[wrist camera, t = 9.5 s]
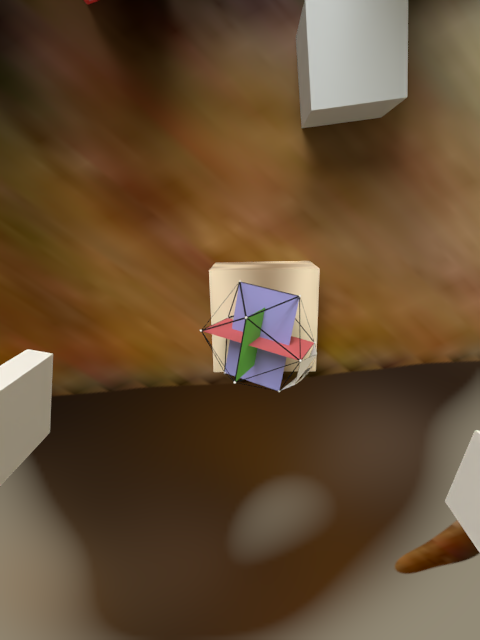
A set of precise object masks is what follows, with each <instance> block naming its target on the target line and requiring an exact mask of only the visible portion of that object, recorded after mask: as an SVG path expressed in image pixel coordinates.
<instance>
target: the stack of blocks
mask: <svg viewBox="0 0 480 640" xmlns="http://www.w3.org/2000/svg"><path fill="white" fill-rule="evenodd" d="M96 1H99V0H84V2H85V3H86V4H91V3H93V2H96Z"/></svg>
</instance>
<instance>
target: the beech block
mask: <svg viewBox="0 0 480 640" xmlns="http://www.w3.org/2000/svg"><path fill="white" fill-rule="evenodd" d="M319 272H320V269H319V268H318V267H317V266H316V265H314V264H313V263H312V262H310V261H280V262H228V263H215V264H214V265H213V266H212V268H211V269H210V270H209V282H210V303H211V317H212V316H213V317H212V318H211V325H213V324H215V323H218V322H220V321H222V320H224V319H226V318H227V317H228V315H229V312H230V309H231V306H232V302H233V299H234V296H235V293H236V290H237V287H238V285H237V284H239V280H241V282H245V283H249V284H253V285H257V286H261V287H265V288H269V289H274V290H278V291H282V292H286V293H290V294H294V295H298V296H299V295H301V297H300V298H301V299H300V325H301V326H302V327H303V328H304V329H305V331H306V332H307V333H308V334H309V336H310V337H311V338H312V339H314V340H313V341H315V342H316V343H315V346H316V350H317V326H318V299H319ZM236 285H237V286H236ZM234 288H235V289H234ZM233 289H234V290H233ZM232 290H233V291H232ZM230 293H231V294H230ZM229 294H230V295H229ZM237 294H238V291H237ZM237 294H236V297H235V300H234V303H233V306H232V309H231V312H230V315H229V317H230V316H233V315H234V312H235V306H236V300H237ZM226 298H227V299H226ZM225 299H226V300H225ZM301 301H302V302H301ZM223 302H224V303H223ZM222 303H223V304H222ZM302 304H303V305H302ZM219 307H220V308H219ZM303 307H304V308H303ZM218 308H219V309H218ZM304 310H305V312H304ZM216 311H217V312H216ZM215 312H216V313H215ZM214 313H215V314H214ZM305 314H306V315H305ZM306 317H307V318H306ZM233 318H234V317H231V318H230V319H233ZM295 318H296V320H297V321H298V322H299V302H298V307H297V312H296V316H295ZM296 320H295V321H294V325H293V330H292V335H291V336H293V337H297V338H300V339H304V340H307V341H311V342H313V341H312V340H311V338H310V337H309V336H308V335H307V333H306V332H305V331H304V330H303V328H302V327H301V326H300V335H299V323H298V322H297V321H296ZM307 320H308V321H307ZM308 323H309V324H308ZM309 326H310V327H309ZM310 329H311V330H310ZM311 332H312V333H311ZM312 336H313V337H312ZM229 343H230V340H229V339H227V352H226V361H227V355H228V349H229ZM212 346H213V349H214V350H213V352H214V351H215V352H216V353H215V352H214V353H213V367H214V372H224V371H223V370H224V366H225V349H226V338H223V337H220V336H216V335H213V334H212ZM313 346H314V344H313ZM313 346H312V347H311V348H310V350H309V351H308V353H307V354H306V355H305V357H304V358H303V359H302V360H304V359H307V358H309V356H310V354H311V351H312V349H313ZM214 354H215V355H216V354H217V355H218V356H217V355H216V357H217V358H216V357H215V355H214ZM218 357H219V358H220V359H219V358H218ZM315 357H316V356H315ZM217 359H218V360H217ZM314 359H315V360H314ZM314 359H313V360H312V362H311V363H310V364H309V366H308V367H307V369H308V368H309V367H310V366H311V365H312V363H313V361H314V363H313V365H312V368H311V369H310V371H316V358H314ZM220 360H221V361H222V363H223V364H224V366H223V364H222V363H221V361H220ZM218 361H219V362H218ZM297 361H298V360H295V359H292V358H288V357H287V358H286V362H285V365H288V364H291V363H294V362H297ZM219 363H220V364H221V366H222V367H221V366H220V364H219ZM298 363H299V362H297V363H294V364H291V365H288V366H285V367H284V371H293V370H294V369H295V367H296V366H297V365H298ZM299 365H300V364H299ZM299 365H298V366H297V368H296V369H295V370H294V371H298V369H299ZM222 368H223V369H222ZM307 369H306V370H307Z"/></svg>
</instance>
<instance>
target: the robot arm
mask: <svg viewBox="0 0 480 640" xmlns="http://www.w3.org/2000/svg"><path fill="white" fill-rule="evenodd" d="M52 368H53V354H51V353H46V352H40V351H35V350H29V349H27V350H25V351H24V352H22V353H21V354H19V355H17V356H16V357H14V358H12V359H11V360H9V361H7V362H6V363H4V364H2V365H1V366H0V486H1V485H2V484H3V483H4V481H5V480H6V479H7V478H8V477H9V476H10V475H11V474H12V473H13V472H14V471H15V470H16V468H17V467H18V466H19V465H20V464H21V463H22V462H23V461H24V460H25V459H26V458H27V457H28V455H29V454H30V453H31V452H32V451H33V450H34V449H35V448H36V447H37V446H38V445H39V444H40V442H41V441H42V440H43V439H44V438H45V437H46V436H47V435H48V434H49V433H50V417H51V416H50V415H51V392H52ZM445 502H446V504H447V505H448V507H449V508H450V510H451V511H452V512H453V514H454V515H455V517H456V519H457V520H458V521H459V523H460V524H461V526H462V527H463V529H464V530H465V532H466V533H467V535H468V536H469V538H470V539H471V541H472V542H473V544H474V545H475V546H476V548H477V549H478V551H479V552H480V431H478V430H475V431H474V434H473V436H472V439H471V441H470V443H469V446H468V448H467V451H466V453H465V455H464V457H463V460H462V462H461V464H460V467H459V469H458V472H457V474H456V476H455V479H454V481H453V483H452V486H451V488H450V490H449V493H448V495H447V498H446V500H445Z"/></svg>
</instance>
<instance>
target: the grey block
mask: <svg viewBox="0 0 480 640" xmlns="http://www.w3.org/2000/svg"><path fill="white" fill-rule="evenodd" d="M296 48H297V63H298V79H299V95H300V111H301V126H302V128H308V127H315V126H323V125H330V124H337V123H345V122H352V121H359V120H367V119H374V118H381V117H382V116H384V115H385V114H386V113H388V112H389V111H390V110H392V109H393V108H394V107H395V106H397V105H398V104H399V103H401V102H402V101H403V100H404V99H406V98H407V90H408V0H305V1H304V5H303V10H302V14H301V18H300V22H299V26H298V30H297V35H296Z"/></svg>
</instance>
